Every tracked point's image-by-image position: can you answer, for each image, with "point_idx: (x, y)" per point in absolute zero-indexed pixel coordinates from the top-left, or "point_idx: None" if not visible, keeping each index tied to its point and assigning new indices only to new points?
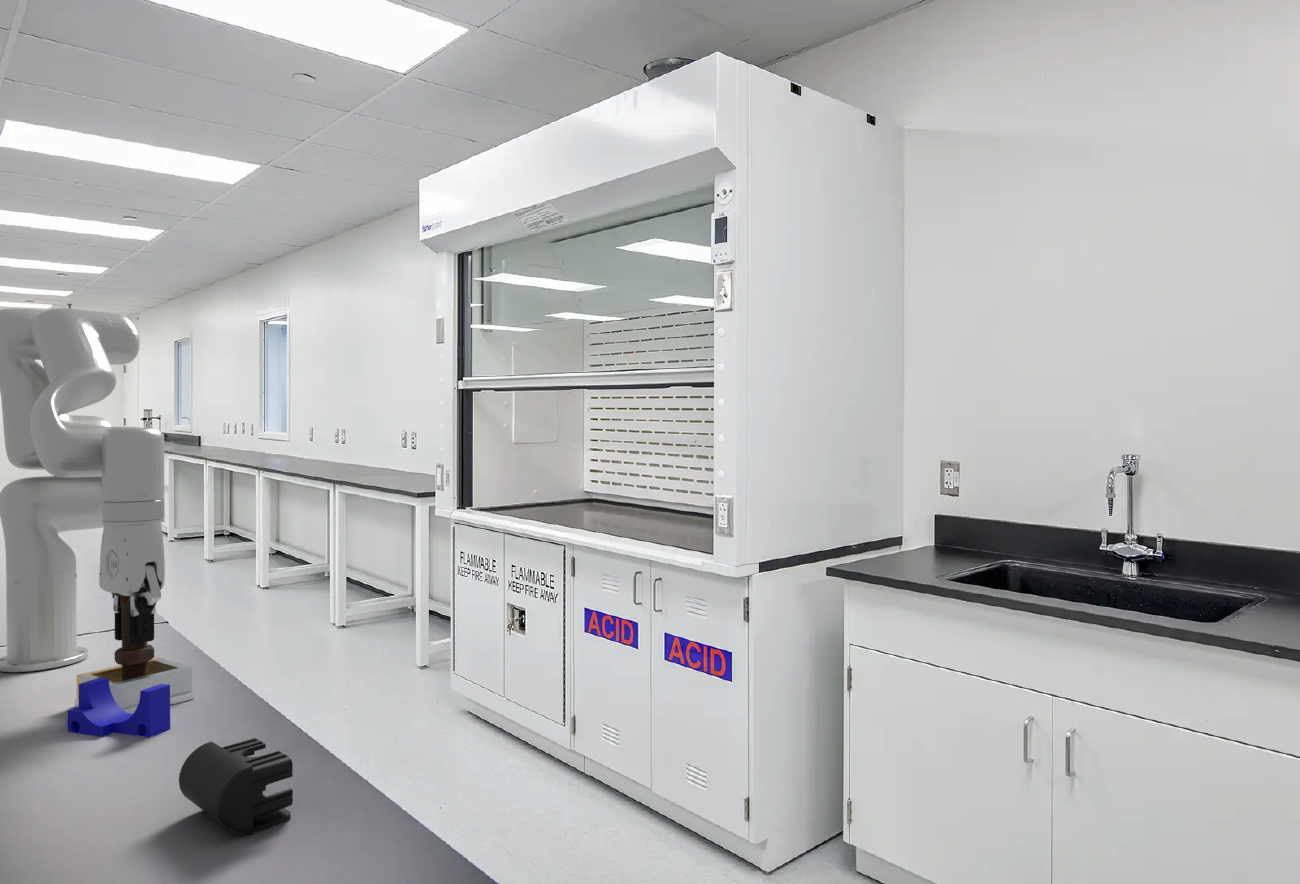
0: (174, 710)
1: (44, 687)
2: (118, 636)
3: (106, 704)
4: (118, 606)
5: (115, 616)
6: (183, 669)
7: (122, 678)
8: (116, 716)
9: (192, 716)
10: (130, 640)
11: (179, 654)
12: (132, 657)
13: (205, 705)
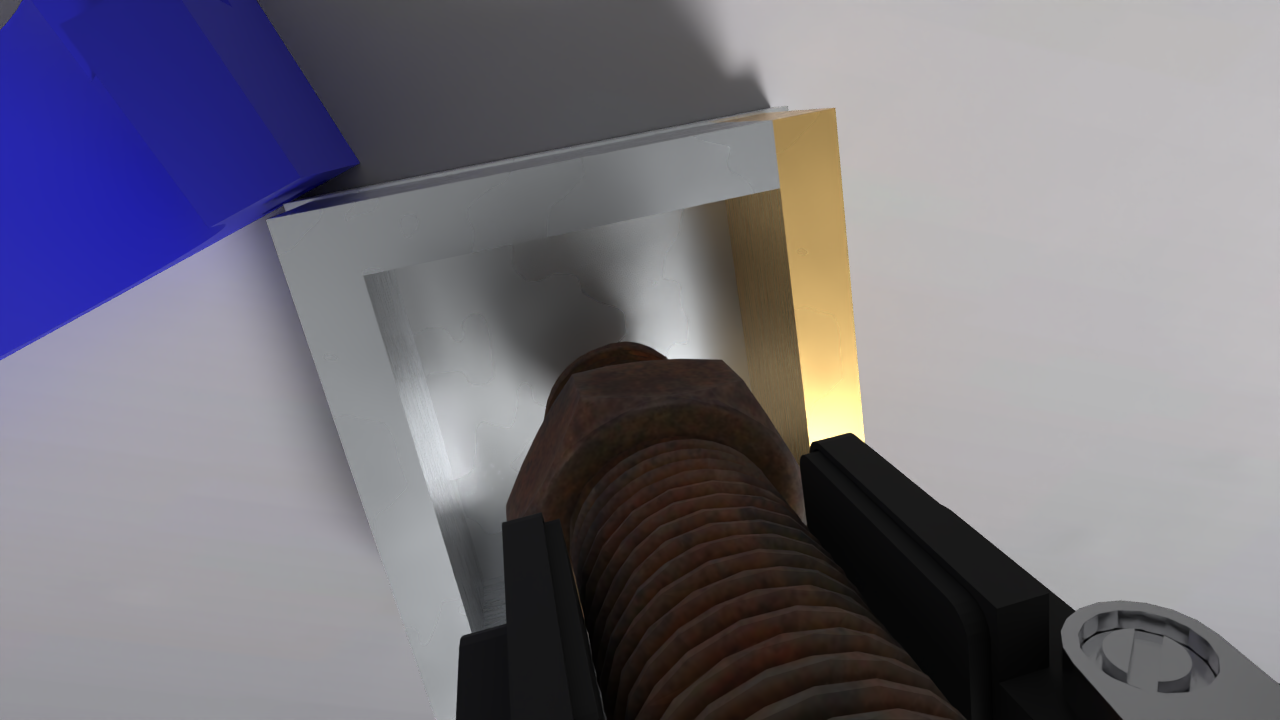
0: (269, 509)
1: (1268, 57)
2: (816, 469)
3: (164, 176)
4: (1104, 711)
5: (981, 570)
6: (426, 693)
7: (617, 358)
8: (81, 211)
9: (67, 565)
10: (508, 542)
11: (1267, 655)
12: (528, 474)
13: (254, 643)
